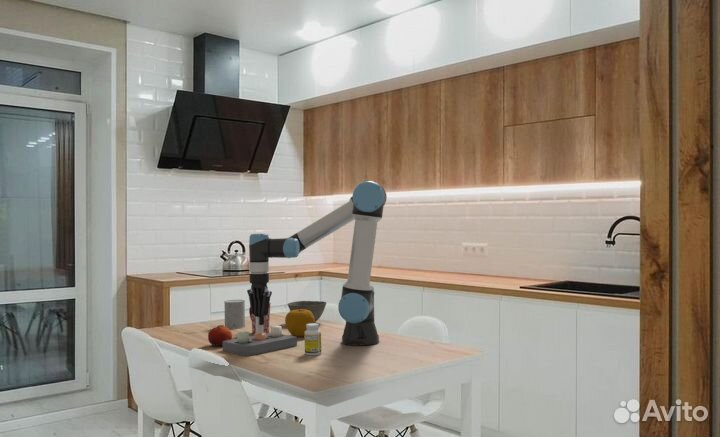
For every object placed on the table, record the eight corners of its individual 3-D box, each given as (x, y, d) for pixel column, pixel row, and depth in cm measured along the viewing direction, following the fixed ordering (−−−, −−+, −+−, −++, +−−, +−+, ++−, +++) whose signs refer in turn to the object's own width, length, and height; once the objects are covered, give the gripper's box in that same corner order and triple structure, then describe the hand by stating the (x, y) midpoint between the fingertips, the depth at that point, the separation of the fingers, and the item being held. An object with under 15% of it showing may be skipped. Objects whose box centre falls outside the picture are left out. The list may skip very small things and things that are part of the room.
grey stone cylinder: (220, 328, 283) (220, 302, 283) (230, 324, 292) (230, 299, 292) (239, 329, 280) (238, 302, 280) (248, 325, 289) (248, 299, 289)
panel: (296, 345, 241) (296, 336, 241) (247, 356, 223) (247, 346, 223) (271, 340, 252) (271, 332, 252) (222, 350, 234) (222, 341, 234)
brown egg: (268, 343, 237) (268, 333, 237) (259, 345, 234) (259, 335, 234) (261, 342, 240) (261, 332, 240) (252, 343, 237) (252, 333, 237)
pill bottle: (312, 351, 230) (312, 322, 230) (324, 353, 226) (324, 323, 226) (301, 354, 225) (300, 324, 225) (313, 356, 221) (312, 326, 221)
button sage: (251, 342, 232) (251, 332, 232) (242, 344, 228) (241, 334, 228) (244, 341, 235) (244, 331, 235) (235, 343, 231) (235, 332, 231)
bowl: (334, 321, 296) (334, 301, 296) (311, 328, 280) (311, 306, 280) (303, 319, 306) (303, 299, 306) (279, 324, 290) (279, 304, 290)
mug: (275, 333, 268) (274, 302, 269) (257, 335, 263) (257, 304, 263) (260, 329, 278) (259, 300, 278) (242, 332, 272) (242, 302, 272)
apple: (280, 338, 257) (280, 311, 257) (291, 332, 270) (291, 306, 270) (309, 339, 254) (309, 311, 254) (319, 333, 267) (318, 307, 267)
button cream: (283, 336, 243) (283, 326, 243) (275, 338, 240) (275, 328, 240) (276, 335, 246) (276, 325, 246) (268, 336, 243) (268, 326, 243)
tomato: (236, 343, 247) (235, 323, 247) (225, 348, 238) (224, 327, 238) (215, 342, 249) (215, 323, 249) (204, 347, 241) (203, 327, 241)
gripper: (277, 273, 236) (277, 333, 236) (256, 271, 245) (257, 329, 244) (261, 274, 230) (262, 336, 230) (241, 272, 239) (241, 332, 239)
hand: (259, 332), depth 237 cm, fingers closed
